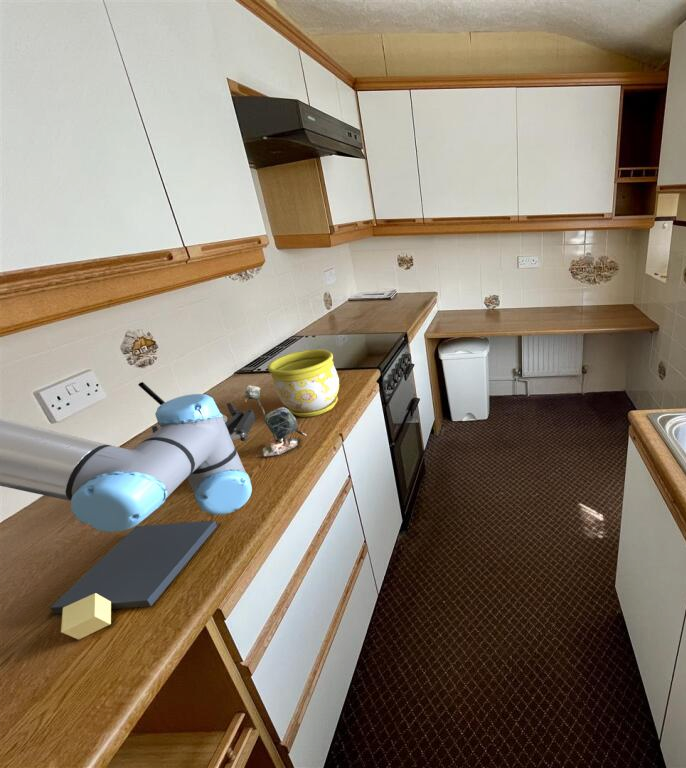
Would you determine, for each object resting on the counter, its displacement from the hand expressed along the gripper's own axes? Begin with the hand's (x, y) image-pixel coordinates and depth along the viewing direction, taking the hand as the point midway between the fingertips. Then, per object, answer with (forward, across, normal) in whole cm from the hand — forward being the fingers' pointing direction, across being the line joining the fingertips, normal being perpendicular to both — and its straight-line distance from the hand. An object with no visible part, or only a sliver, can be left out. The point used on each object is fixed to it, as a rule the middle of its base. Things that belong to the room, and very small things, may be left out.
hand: (195, 419), depth 90 cm
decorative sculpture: (+4, +15, -17) cm, 23 cm away
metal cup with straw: (-1, 0, -17) cm, 17 cm away
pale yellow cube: (-28, -22, -16) cm, 39 cm away
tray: (-19, -16, -17) cm, 30 cm away
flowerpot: (+22, +29, -17) cm, 40 cm away
